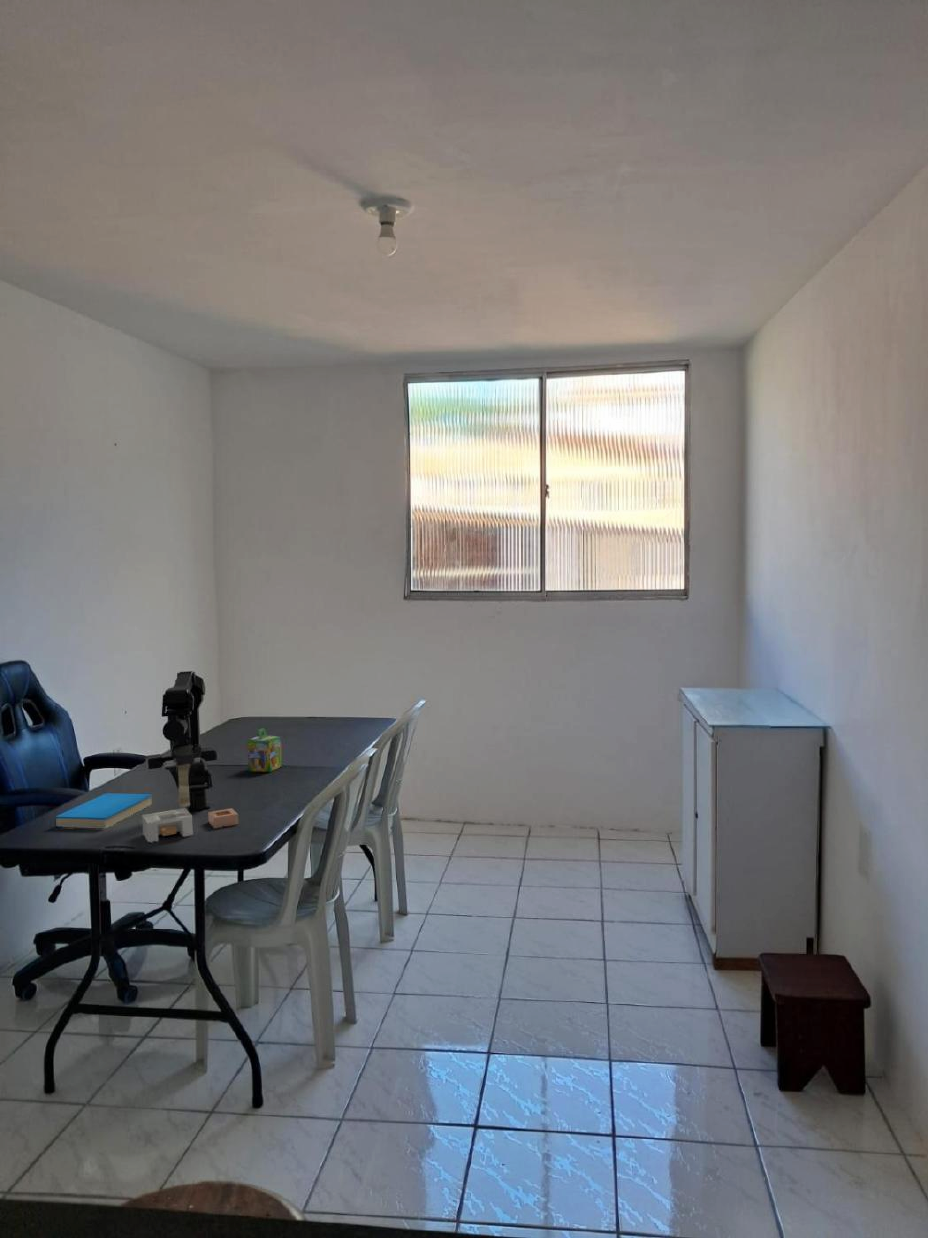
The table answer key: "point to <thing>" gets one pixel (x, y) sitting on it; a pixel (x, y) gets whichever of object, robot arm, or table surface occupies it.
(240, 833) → the table surface
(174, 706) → the robot arm
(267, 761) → the printed toy box
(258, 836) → the table surface
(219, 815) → the holder
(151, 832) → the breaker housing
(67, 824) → the book
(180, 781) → the tan square peg
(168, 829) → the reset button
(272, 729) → the table surface
